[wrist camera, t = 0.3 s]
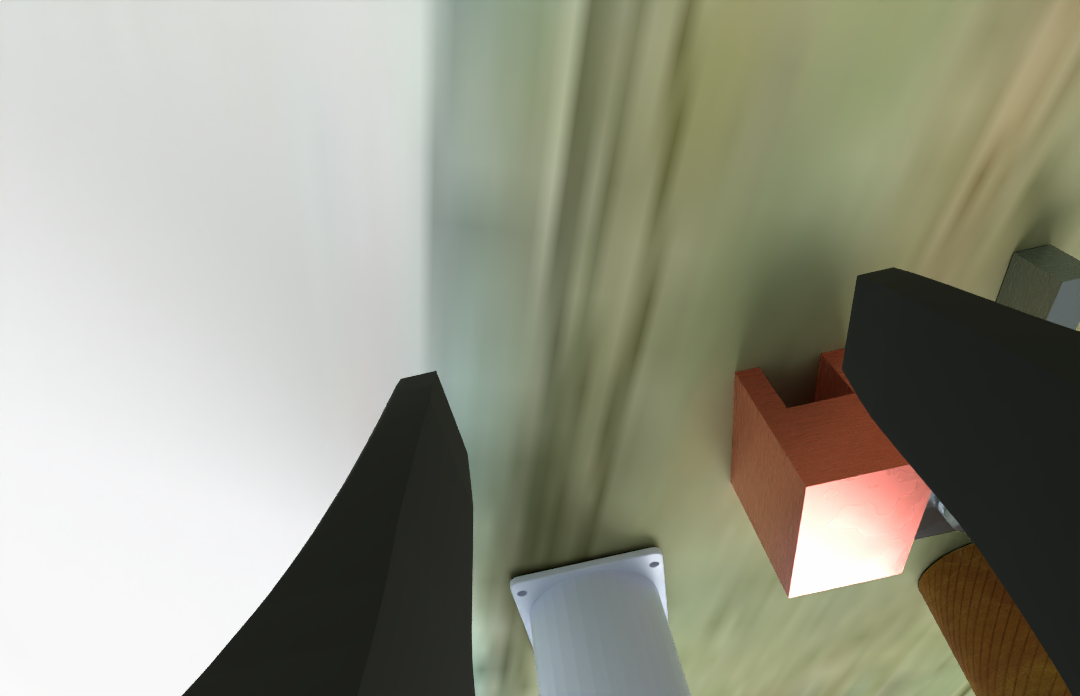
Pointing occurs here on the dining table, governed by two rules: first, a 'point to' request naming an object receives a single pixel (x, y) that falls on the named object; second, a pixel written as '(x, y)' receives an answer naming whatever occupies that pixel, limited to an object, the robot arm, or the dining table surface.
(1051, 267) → the lip
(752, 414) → the block
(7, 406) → the dining table surface
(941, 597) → the disposable coffee cup
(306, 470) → the dining table surface
